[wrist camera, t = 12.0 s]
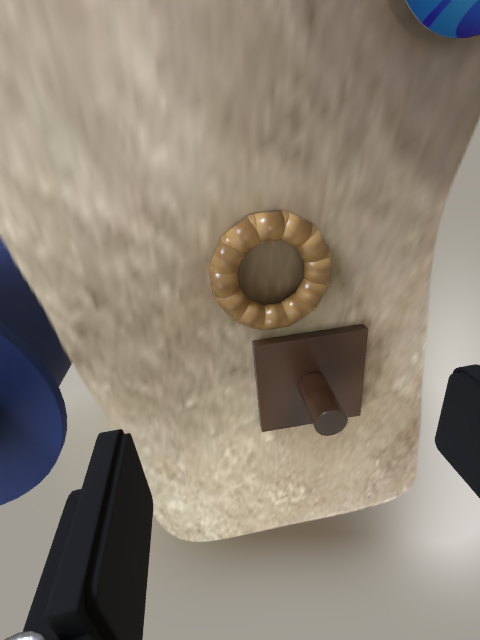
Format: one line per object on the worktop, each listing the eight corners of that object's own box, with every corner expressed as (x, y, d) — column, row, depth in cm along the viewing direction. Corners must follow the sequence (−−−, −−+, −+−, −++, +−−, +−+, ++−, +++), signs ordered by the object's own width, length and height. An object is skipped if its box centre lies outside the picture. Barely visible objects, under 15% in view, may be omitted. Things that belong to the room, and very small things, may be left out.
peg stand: (260, 425, 30) (272, 476, 26) (251, 340, 26) (264, 383, 21) (356, 409, 31) (385, 456, 26) (363, 323, 27) (399, 361, 22)
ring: (218, 329, 25) (220, 341, 24) (201, 217, 21) (202, 223, 20) (324, 313, 26) (333, 324, 24) (326, 202, 22) (336, 206, 20)
